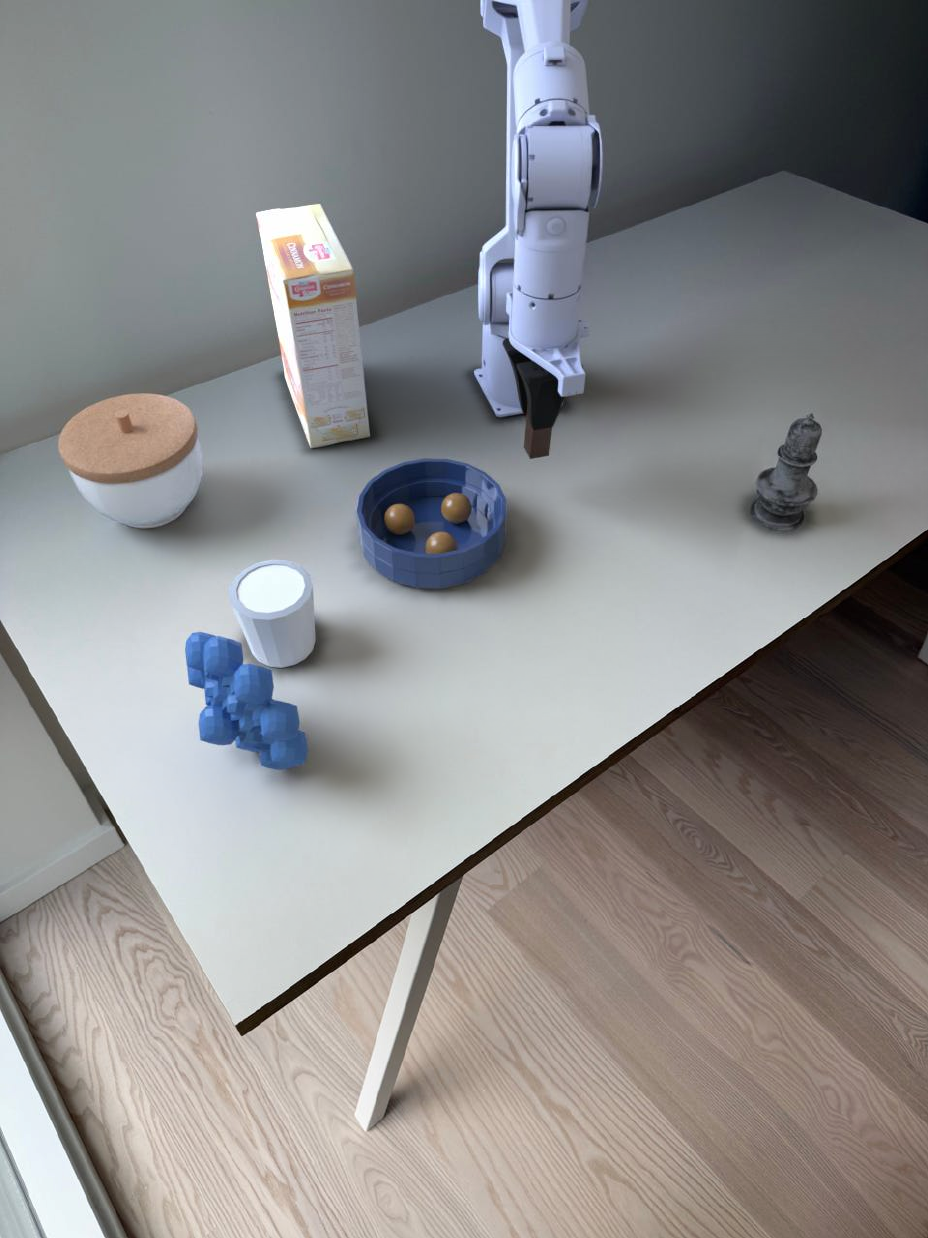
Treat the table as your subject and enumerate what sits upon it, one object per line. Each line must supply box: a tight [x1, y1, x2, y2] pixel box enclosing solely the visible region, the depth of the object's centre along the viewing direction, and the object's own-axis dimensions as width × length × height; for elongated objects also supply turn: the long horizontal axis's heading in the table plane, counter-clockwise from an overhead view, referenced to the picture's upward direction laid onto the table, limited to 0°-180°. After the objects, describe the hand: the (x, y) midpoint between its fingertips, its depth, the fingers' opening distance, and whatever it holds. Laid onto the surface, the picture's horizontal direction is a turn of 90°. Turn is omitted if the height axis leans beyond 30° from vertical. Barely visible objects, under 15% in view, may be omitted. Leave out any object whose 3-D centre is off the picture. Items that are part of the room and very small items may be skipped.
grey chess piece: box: [749, 412, 823, 532], centre depth 85 cm, size 6×6×12 cm
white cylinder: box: [228, 558, 317, 669], centre depth 76 cm, size 7×7×7 cm
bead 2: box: [441, 493, 472, 524], centre depth 87 cm, size 3×3×3 cm
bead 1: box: [384, 504, 415, 535], centre depth 86 cm, size 3×3×3 cm
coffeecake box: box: [255, 203, 371, 449], centre depth 95 cm, size 15×7×20 cm, turn 18°
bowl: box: [355, 458, 507, 589], centre depth 85 cm, size 14×14×4 cm
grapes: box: [184, 631, 309, 771], centre depth 66 cm, size 12×7×12 cm, turn 51°
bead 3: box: [426, 532, 458, 554], centre depth 83 cm, size 3×3×3 cm
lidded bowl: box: [57, 392, 204, 529], centre depth 86 cm, size 13×13×11 cm
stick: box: [523, 360, 553, 460], centre depth 84 cm, size 2×2×10 cm
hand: (537, 418), depth 84 cm, fingers closed on stick, 2 cm apart
